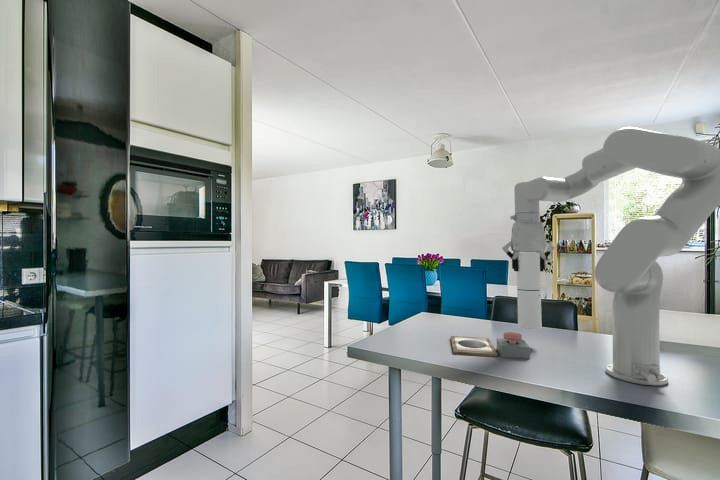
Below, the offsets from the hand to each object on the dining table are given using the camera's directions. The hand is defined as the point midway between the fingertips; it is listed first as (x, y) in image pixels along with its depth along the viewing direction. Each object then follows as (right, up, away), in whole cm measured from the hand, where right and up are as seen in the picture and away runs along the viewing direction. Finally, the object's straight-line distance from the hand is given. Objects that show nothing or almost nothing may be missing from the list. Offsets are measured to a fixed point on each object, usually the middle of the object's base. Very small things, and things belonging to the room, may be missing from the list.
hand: (528, 270), depth 117 cm
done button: (-9, -23, -9) cm, 26 cm away
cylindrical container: (0, -19, 0) cm, 19 cm away
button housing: (-9, -25, -9) cm, 28 cm away
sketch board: (-20, -25, -2) cm, 32 cm away
